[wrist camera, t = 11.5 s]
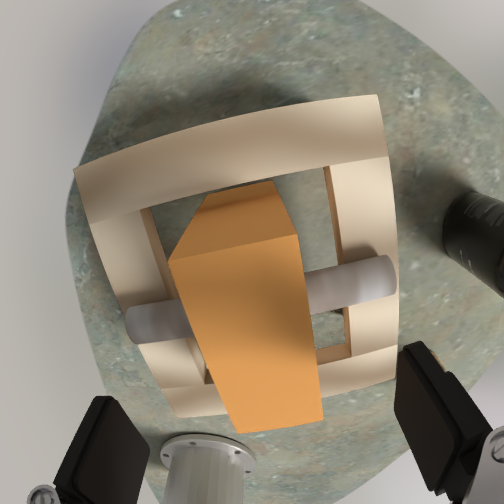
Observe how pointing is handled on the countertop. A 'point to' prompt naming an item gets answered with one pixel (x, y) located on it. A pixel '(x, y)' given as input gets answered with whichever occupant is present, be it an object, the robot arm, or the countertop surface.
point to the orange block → (250, 307)
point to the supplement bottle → (477, 237)
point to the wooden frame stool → (241, 171)
